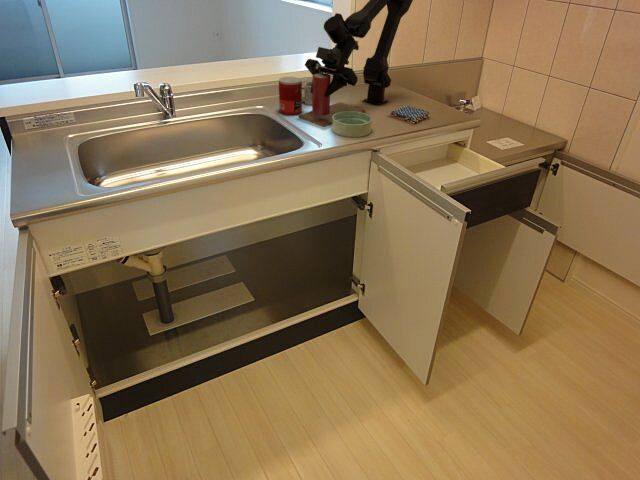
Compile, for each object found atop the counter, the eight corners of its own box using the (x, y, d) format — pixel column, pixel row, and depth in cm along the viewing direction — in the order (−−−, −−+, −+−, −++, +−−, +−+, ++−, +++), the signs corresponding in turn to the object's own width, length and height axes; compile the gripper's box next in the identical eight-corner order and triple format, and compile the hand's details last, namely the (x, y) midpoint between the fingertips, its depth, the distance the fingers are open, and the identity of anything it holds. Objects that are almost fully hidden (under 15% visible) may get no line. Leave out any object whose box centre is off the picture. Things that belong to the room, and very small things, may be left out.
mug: (321, 99, 167) (322, 81, 163) (322, 105, 162) (323, 87, 158) (295, 99, 167) (295, 81, 163) (295, 105, 161) (295, 86, 158)
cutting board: (339, 106, 162) (340, 102, 161) (365, 114, 155) (365, 110, 154) (298, 119, 149) (298, 115, 148) (323, 129, 142) (324, 124, 141)
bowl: (349, 121, 148) (350, 108, 146) (378, 131, 141) (380, 118, 139) (323, 130, 141) (324, 117, 138) (353, 142, 134) (354, 128, 131)
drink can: (325, 108, 149) (326, 72, 142) (332, 114, 145) (333, 76, 138) (309, 110, 147) (309, 73, 140) (316, 116, 143) (316, 78, 136)
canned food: (299, 116, 152) (298, 83, 146) (276, 113, 153) (275, 81, 147) (304, 108, 158) (304, 77, 152) (282, 107, 159) (281, 75, 153)
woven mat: (388, 116, 153) (388, 110, 152) (405, 110, 160) (406, 104, 159) (412, 124, 148) (413, 118, 146) (430, 117, 154) (431, 111, 153)
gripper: (308, 32, 140) (285, 74, 140) (354, 40, 130) (329, 86, 130) (324, 54, 150) (302, 93, 149) (368, 63, 140) (344, 106, 139)
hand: (318, 94), depth 142 cm, fingers closed on drink can, 6 cm apart
